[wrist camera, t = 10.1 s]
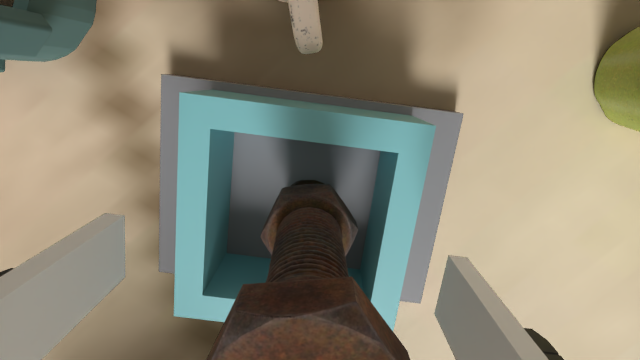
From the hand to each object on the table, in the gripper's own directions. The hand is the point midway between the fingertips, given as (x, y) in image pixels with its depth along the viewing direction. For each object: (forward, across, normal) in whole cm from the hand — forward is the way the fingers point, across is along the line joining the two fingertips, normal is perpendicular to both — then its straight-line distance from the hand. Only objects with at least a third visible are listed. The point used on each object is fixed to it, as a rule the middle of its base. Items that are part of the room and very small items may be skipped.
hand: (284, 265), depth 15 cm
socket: (+10, 0, 0) cm, 10 cm away
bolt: (+9, +1, 0) cm, 9 cm away
